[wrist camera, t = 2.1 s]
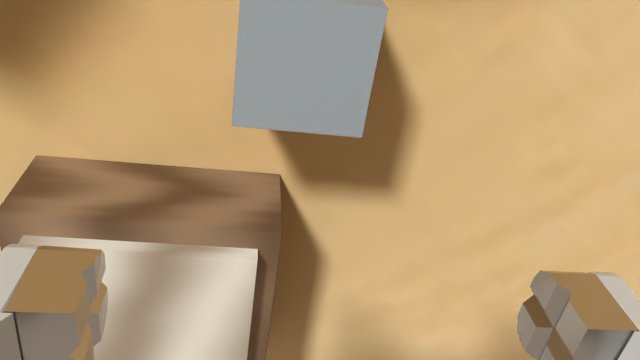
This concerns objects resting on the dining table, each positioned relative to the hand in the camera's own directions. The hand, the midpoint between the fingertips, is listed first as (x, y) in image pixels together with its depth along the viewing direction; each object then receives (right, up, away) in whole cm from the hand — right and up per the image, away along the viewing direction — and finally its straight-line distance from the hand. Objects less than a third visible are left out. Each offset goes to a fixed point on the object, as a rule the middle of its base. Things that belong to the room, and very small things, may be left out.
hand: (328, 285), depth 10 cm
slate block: (-1, +9, +15) cm, 17 cm away
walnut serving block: (-9, -2, +21) cm, 23 cm away
